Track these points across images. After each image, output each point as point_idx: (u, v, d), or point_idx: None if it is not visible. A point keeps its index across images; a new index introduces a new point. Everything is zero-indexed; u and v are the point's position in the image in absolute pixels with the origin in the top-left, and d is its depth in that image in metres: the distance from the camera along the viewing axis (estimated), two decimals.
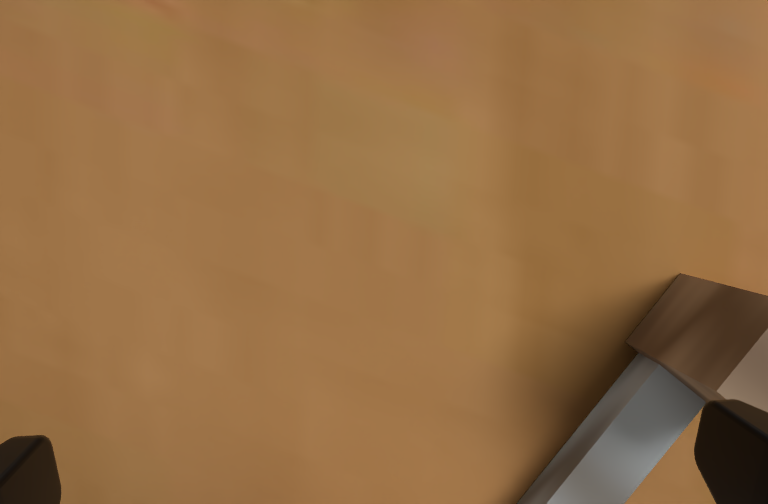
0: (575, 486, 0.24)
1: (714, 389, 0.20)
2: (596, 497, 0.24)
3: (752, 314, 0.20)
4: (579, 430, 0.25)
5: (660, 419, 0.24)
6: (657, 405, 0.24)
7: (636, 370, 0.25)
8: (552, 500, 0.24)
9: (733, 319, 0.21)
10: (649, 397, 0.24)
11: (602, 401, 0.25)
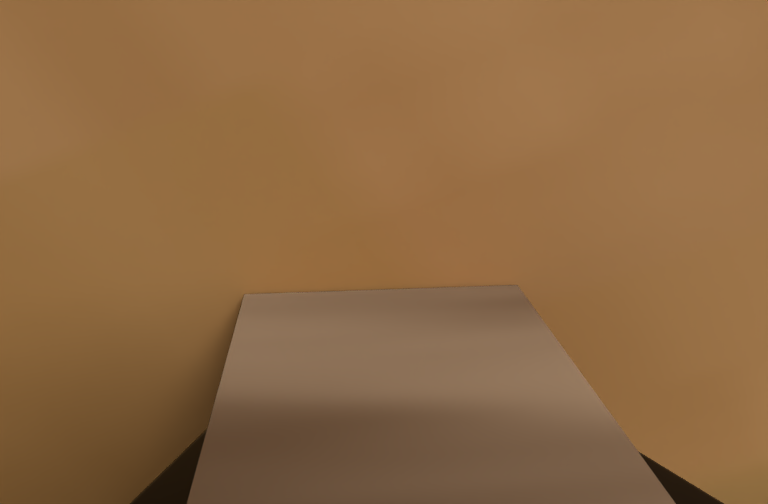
0: None
1: None
2: None
3: None
4: None
5: None
6: None
7: None
8: None
9: None
10: None
11: None
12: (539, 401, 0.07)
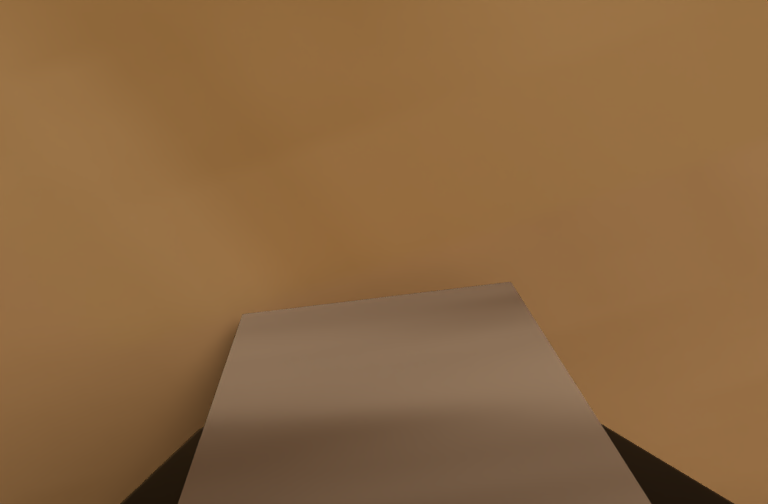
0: None
1: None
2: None
3: None
4: None
5: None
6: None
7: None
8: None
9: None
10: None
11: None
12: (520, 400, 0.07)
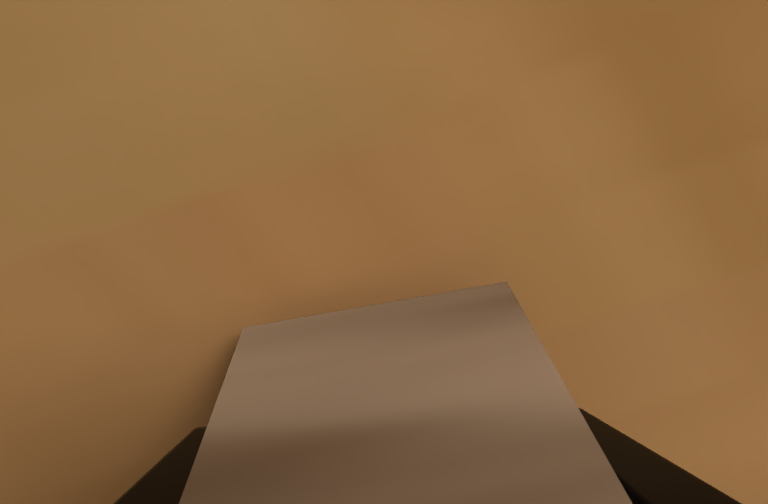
0: None
1: None
2: None
3: None
4: None
5: None
6: None
7: None
8: None
9: None
10: None
11: None
12: (509, 403, 0.07)
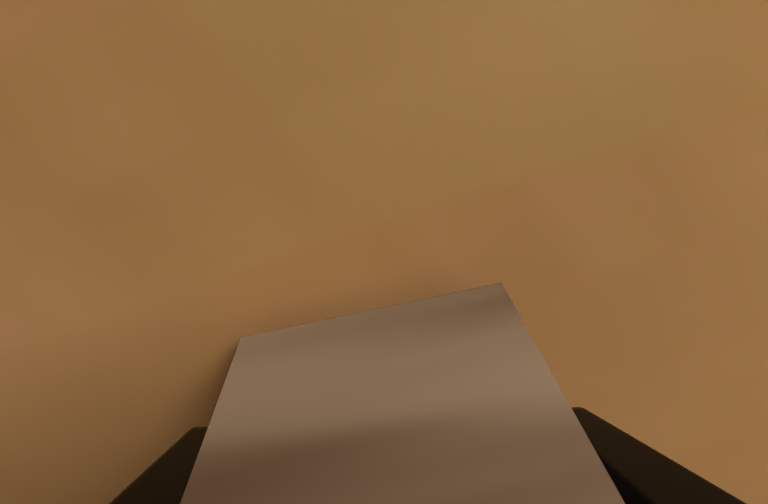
0: None
1: None
2: None
3: None
4: None
5: None
6: None
7: None
8: None
9: None
10: None
11: None
12: (501, 404, 0.07)
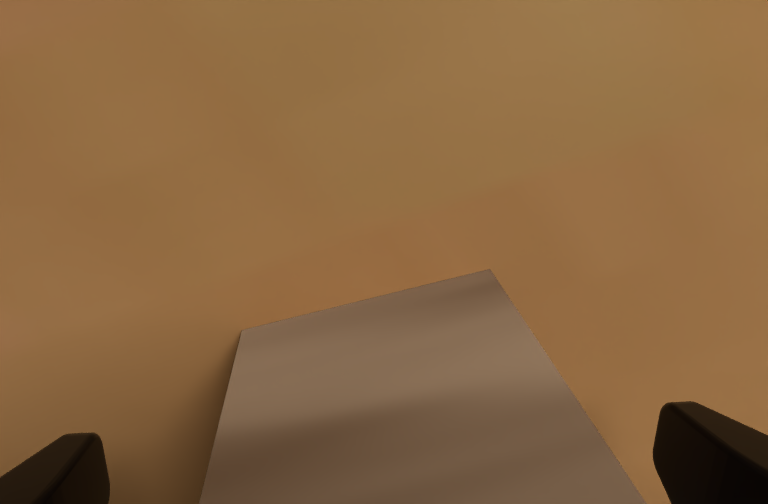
0: None
1: None
2: None
3: None
4: None
5: None
6: None
7: None
8: None
9: None
10: None
11: None
12: (500, 381, 0.07)
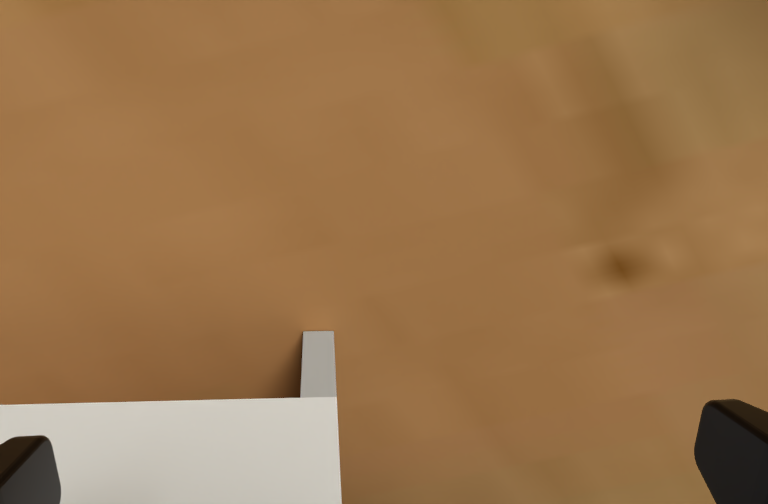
0: None
1: None
2: None
3: None
4: None
5: None
6: None
7: None
8: None
9: None
10: None
11: None
12: None
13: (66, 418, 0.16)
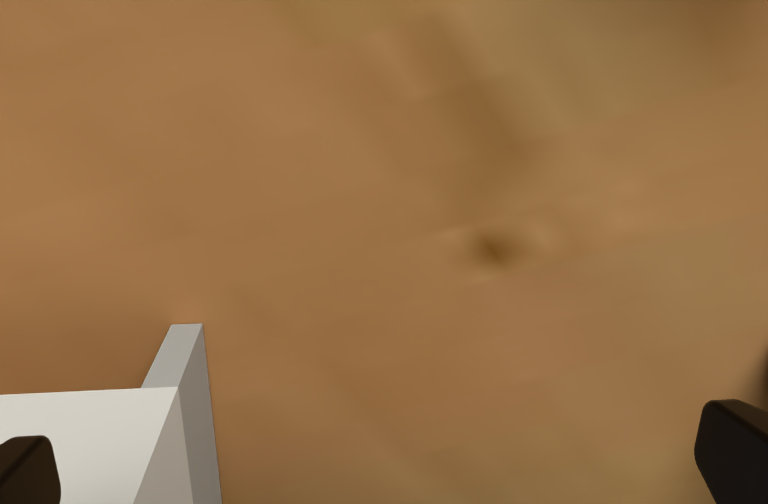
0: None
1: None
2: None
3: None
4: None
5: None
6: None
7: None
8: None
9: None
10: None
11: None
12: None
13: None
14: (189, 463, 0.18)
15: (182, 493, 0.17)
